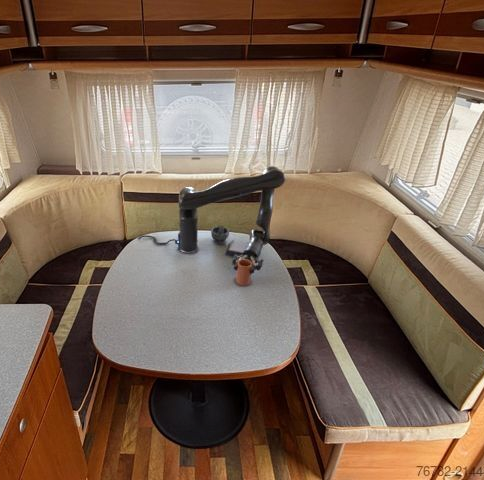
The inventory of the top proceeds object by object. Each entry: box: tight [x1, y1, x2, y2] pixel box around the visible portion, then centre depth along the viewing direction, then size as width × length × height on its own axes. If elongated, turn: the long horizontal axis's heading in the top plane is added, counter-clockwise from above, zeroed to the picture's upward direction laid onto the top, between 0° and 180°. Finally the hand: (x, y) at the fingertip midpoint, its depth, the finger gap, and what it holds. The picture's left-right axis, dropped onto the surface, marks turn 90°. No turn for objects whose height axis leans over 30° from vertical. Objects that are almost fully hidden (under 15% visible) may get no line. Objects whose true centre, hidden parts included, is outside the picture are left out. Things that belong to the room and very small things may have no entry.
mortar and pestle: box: [210, 225, 230, 245], centre depth 191 cm, size 11×9×12 cm
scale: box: [225, 239, 249, 257], centre depth 185 cm, size 12×12×3 cm
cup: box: [235, 259, 252, 287], centre depth 160 cm, size 6×6×10 cm
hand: (243, 270), depth 157 cm, fingers closed on cup, 6 cm apart
